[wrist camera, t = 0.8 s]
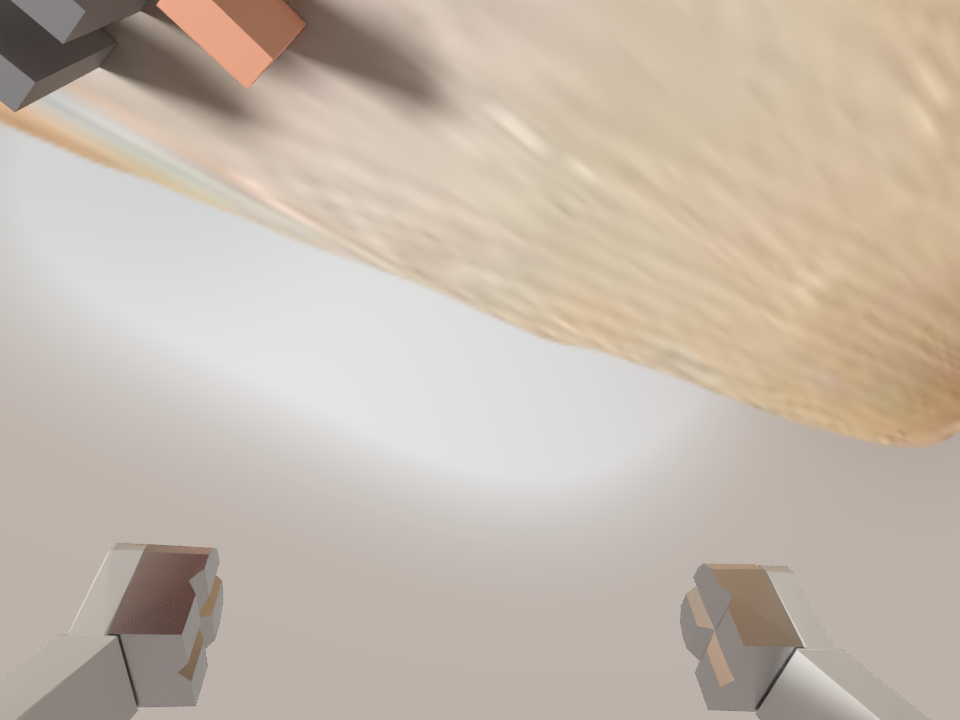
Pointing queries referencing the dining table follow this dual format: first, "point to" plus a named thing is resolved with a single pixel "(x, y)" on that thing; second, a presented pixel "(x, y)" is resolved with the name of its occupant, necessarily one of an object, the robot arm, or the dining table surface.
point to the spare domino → (237, 31)
